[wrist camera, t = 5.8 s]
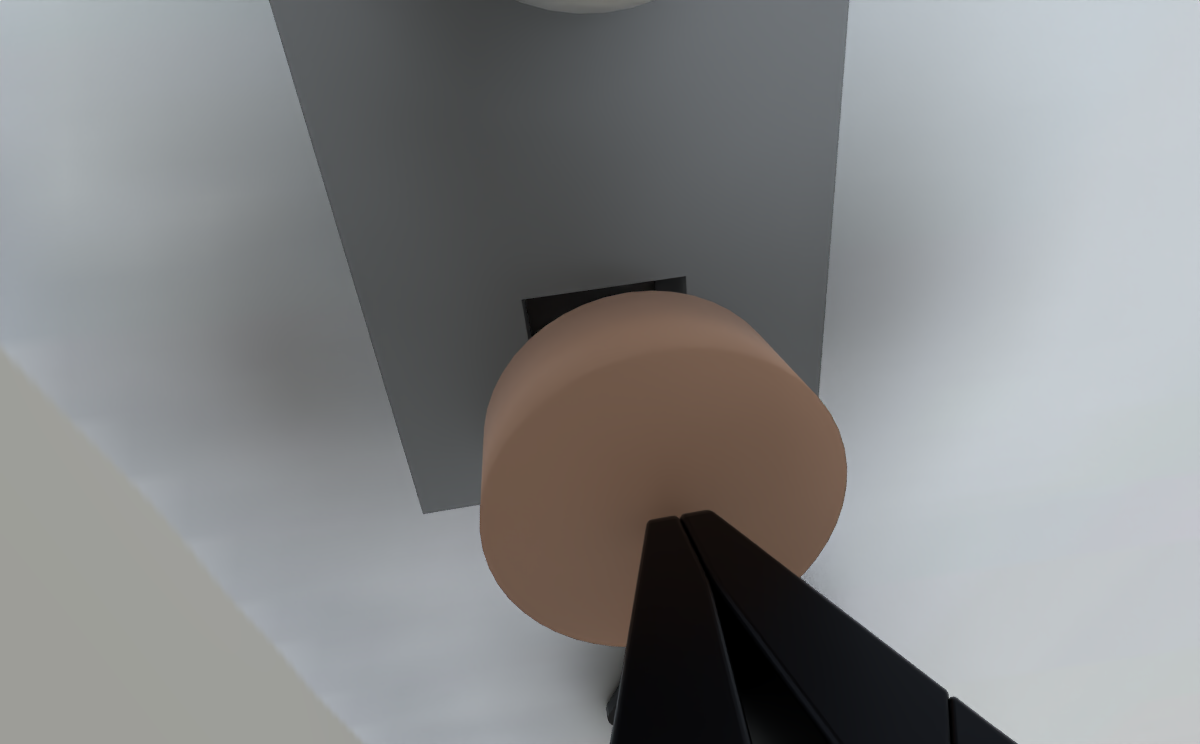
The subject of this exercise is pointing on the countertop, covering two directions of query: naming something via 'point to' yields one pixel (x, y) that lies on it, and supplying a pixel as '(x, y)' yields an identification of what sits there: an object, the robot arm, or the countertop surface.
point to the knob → (646, 453)
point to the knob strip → (564, 179)
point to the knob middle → (584, 5)
